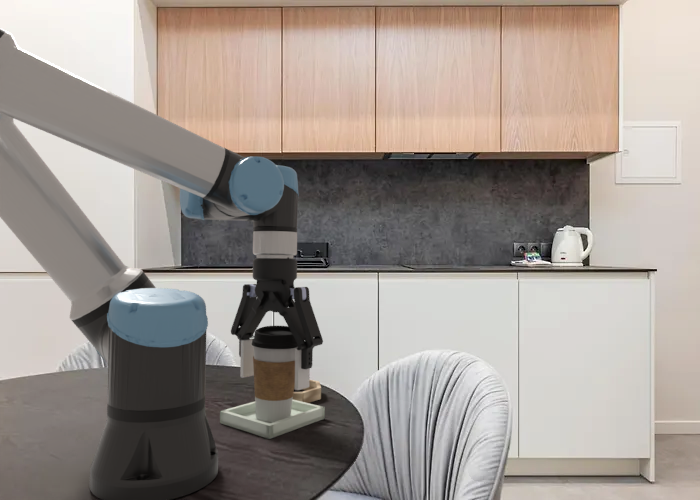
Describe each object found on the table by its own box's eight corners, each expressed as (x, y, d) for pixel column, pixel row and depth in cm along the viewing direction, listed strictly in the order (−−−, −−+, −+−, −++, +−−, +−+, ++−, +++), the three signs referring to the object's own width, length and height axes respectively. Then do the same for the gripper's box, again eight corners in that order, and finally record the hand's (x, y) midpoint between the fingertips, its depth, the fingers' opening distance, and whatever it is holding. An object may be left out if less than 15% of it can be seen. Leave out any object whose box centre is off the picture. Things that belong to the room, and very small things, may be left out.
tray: (269, 439, 79) (269, 425, 79) (219, 423, 86) (220, 411, 86) (324, 418, 89) (324, 407, 89) (276, 405, 97) (276, 395, 97)
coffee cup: (302, 411, 92) (305, 326, 92) (291, 426, 83) (296, 334, 83) (256, 407, 93) (259, 324, 93) (241, 422, 84) (245, 331, 84)
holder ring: (289, 409, 95) (289, 397, 95) (243, 397, 103) (244, 386, 103) (332, 395, 105) (333, 384, 105) (288, 385, 113) (288, 375, 113)
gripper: (345, 257, 84) (343, 389, 83) (244, 256, 99) (242, 368, 99) (314, 257, 78) (312, 399, 77) (212, 256, 93) (210, 375, 93)
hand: (273, 382), depth 88 cm, fingers open, 13 cm apart
